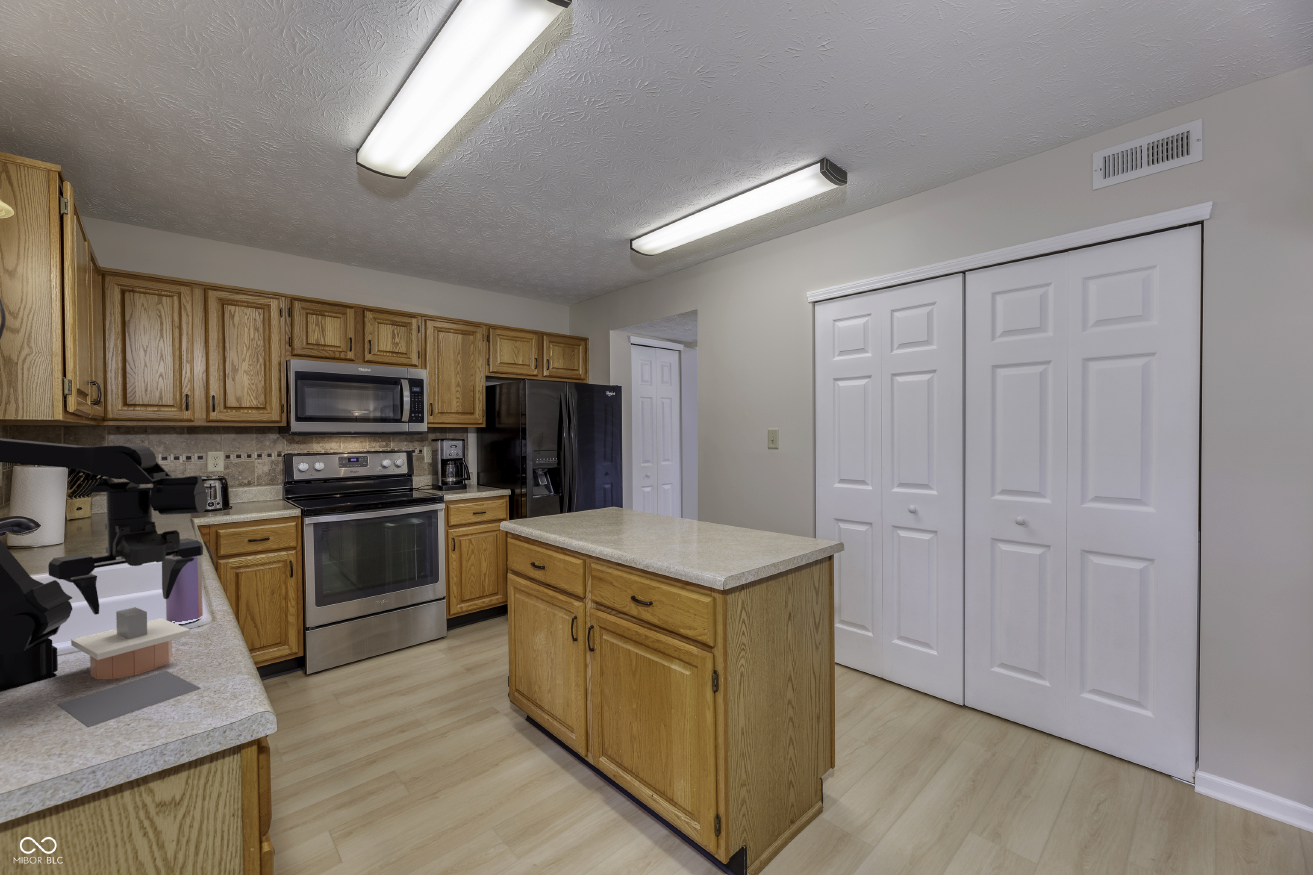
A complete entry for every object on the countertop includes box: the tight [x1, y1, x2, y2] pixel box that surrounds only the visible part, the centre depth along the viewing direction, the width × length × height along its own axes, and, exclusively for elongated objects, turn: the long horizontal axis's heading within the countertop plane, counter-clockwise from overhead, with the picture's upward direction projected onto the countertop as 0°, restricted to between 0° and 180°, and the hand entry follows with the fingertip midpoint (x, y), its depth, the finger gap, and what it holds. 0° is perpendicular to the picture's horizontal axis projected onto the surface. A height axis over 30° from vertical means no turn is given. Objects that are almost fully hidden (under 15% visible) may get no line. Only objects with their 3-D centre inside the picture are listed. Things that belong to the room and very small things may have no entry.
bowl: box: [89, 640, 173, 680], centre depth 96 cm, size 10×10×5 cm
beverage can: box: [165, 555, 204, 623], centre depth 119 cm, size 6×6×15 cm
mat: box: [56, 670, 202, 728], centre depth 85 cm, size 13×13×1 cm
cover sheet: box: [70, 607, 191, 660], centre depth 96 cm, size 12×12×5 cm
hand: (132, 606), depth 96 cm, fingers open, 9 cm apart
